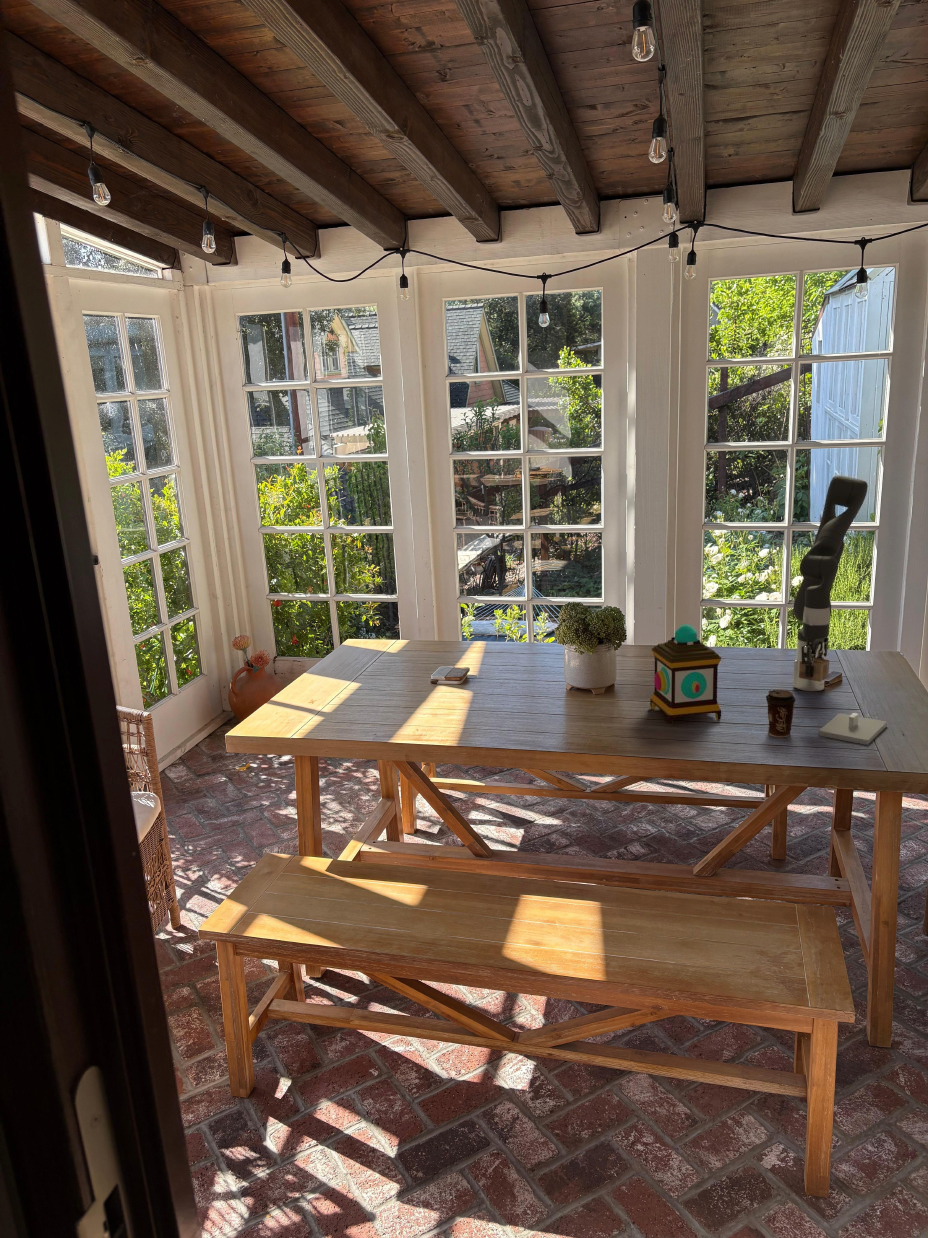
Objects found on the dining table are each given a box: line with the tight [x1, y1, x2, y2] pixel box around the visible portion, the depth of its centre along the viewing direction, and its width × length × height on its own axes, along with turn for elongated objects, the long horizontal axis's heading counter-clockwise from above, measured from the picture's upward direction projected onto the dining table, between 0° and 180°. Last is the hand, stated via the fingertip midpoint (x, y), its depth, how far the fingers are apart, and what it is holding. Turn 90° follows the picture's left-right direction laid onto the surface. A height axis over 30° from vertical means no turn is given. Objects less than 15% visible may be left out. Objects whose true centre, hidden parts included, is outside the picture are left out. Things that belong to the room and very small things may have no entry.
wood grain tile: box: [848, 712, 859, 728], centre depth 272 cm, size 1×4×4 cm, turn 140°
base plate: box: [818, 712, 888, 746], centre depth 272 cm, size 14×18×2 cm
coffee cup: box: [765, 689, 796, 739], centre depth 272 cm, size 9×8×13 cm
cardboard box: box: [799, 658, 830, 682], centre depth 277 cm, size 7×6×6 cm
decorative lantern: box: [649, 624, 722, 726], centre depth 289 cm, size 20×20×30 cm
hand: (813, 674), depth 277 cm, fingers closed on cardboard box, 6 cm apart
